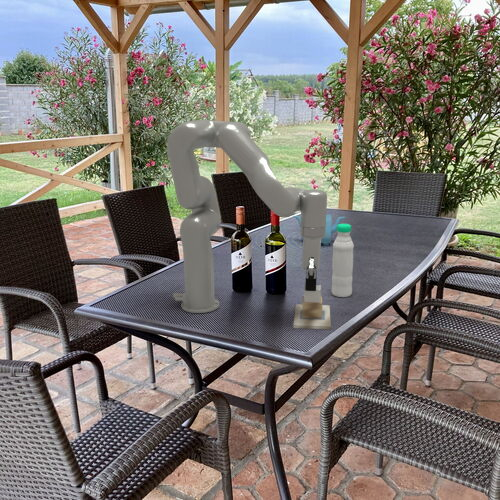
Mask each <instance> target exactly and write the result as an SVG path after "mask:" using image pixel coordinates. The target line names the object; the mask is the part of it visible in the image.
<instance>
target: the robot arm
mask: <svg viewBox="0 0 500 500" xmlns="http://www.w3.org/2000/svg"><path fill="white" fill-rule="evenodd" d="M202 148H216V149H219V148H220V149H221V150H222V151H223V152H224V153H225V155H227V157H228V158H229V159H230V160H232V162H233V163H234V164H235V165H236V166H237V167H238V169H240V171H241V172H242V173H243V174H244V175H245V176H246V178H247V180H248V182H249V183H250V185H251V187H252V188H253V190H254V191H255V193H256V195H257V196H258V197H259V198H260V200H261V201H263V203H264V204H265V205H266V206H267V207H268V209H270V211H272V213H274V214H275V215H277V216H279V217H281V218H289V217H291V216H292V215H293V216H294V214H295V213H296V212H300V218H301V228H300V234H299V235H300V238H303V241H302V257H301V258H302V259H301V260H302V262H301V263H302V264H301V265H302V267H301V270H302V271H305V270H306V271H305V274H306V275H305V284H304V288H305V290H306V291H316V285H317V280H318V279H317V275H318V274H317V271H318V270H319V267H320V260H321V248H322V247H321V246H322V243H321V238H324V237H325V233H326V215H327V209H328V207H327V206H328V194H327V192H326V191H325V190H322V189H303V188H299V187H293V186H289V187H285V186H284V185H283V184H282V183H281V182H280V181H279V180H278V178H277V177H276V176H275V173H274V172H273V171H272V167H271V164H270V159H269V157H268V155H267V154H266V153H265V152H264V151H263V150H262V148H260V146H258V145H257V143H256V142H255V141H254V140H253V139H252V135H251V131H250V128H249V127H248V126H247V124H245V123H243V122H241V121H225V120H224V121H223V120H210V119H198V120H197V119H196V120H195V119H193V120H187V121H184V122H182V123H180V124H179V125H177V126H176V127H175V128H174V129H172V131H171V133H170V134H169V136H168V138H167V143H166V151H167V157H168V160H169V165H170V169H171V176H172V181H173V186H174V190H175V195H176V199H177V203H178V204H179V206H181V208H183V209H184V210H191V212H192V213H189V214H188V215H187V216H186V217H185V218H184V219H183V220H182V221H181V224H180V226H179V236H180V241H181V246H182V253H183V268H184V270H183V272H184V290H185V291H184V292H183V293H179V292H178V293H177V292H174V293H173V294H172V295H173V296H172V298H173V299H174V302H181V304H180V305H181V309H182V310H183V311H185V312H187V313H191V314H205V313H210V312H214V311H216V310H217V309H218V308H220V300H218V299H217V298H215V274H214V273H215V271H214V253H213V247H212V243H211V242H212V241H211V237H212V236H214V235H215V234H217V232H218V231H219V229H220V227H221V214H220V207H219V204H218V199H217V198H218V197H217V192H216V189H215V186H214V184H213V182H212V181H211V180H210V179H209V178H208V177H206V176H203V175H201V174H200V167H199V163H198V159H197V158H196V156H195V151H196V150H198V149H202Z"/></svg>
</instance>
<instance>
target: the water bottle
mask: <svg viewBox="0 0 500 500" xmlns="http://www.w3.org/2000/svg"><path fill="white" fill-rule="evenodd" d="M336 232H337V235H336V238H335V240H334V241H333V244H332V248H333V250H332V261H331V263H332V277H331V284H332V285H331V294H332V295H333V296H335V297H337V298H347V297H350V296H351V295H352V294H353V285H352V284H353V269H354V248H355V247H354V246H355V244H354V242H353V240H352V237H351V235H350V233H351V232H352V225H351V224H349V223H339V225H337V230H336Z"/></svg>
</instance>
